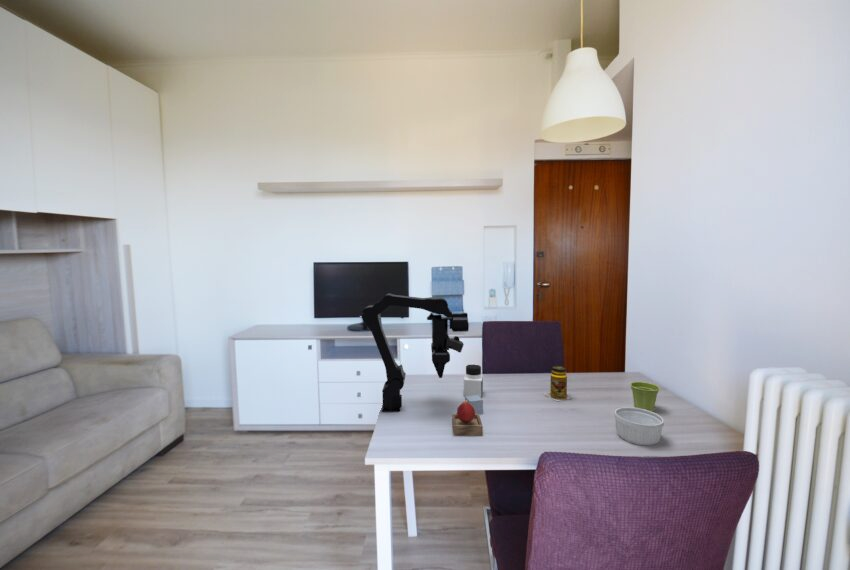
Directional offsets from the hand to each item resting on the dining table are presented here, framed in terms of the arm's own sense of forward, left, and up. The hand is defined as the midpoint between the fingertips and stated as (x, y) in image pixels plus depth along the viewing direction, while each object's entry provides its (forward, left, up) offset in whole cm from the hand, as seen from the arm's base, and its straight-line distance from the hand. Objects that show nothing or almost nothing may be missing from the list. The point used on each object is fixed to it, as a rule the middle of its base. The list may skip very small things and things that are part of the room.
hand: (440, 373), depth 138 cm
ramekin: (+60, -23, -13) cm, 66 cm away
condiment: (+47, +11, -13) cm, 50 cm away
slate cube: (+12, -3, -13) cm, 18 cm away
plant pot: (+74, -2, -13) cm, 75 cm away
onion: (+8, -17, -11) cm, 22 cm away
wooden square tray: (+8, -17, -14) cm, 23 cm away
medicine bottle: (+14, +14, -13) cm, 24 cm away
